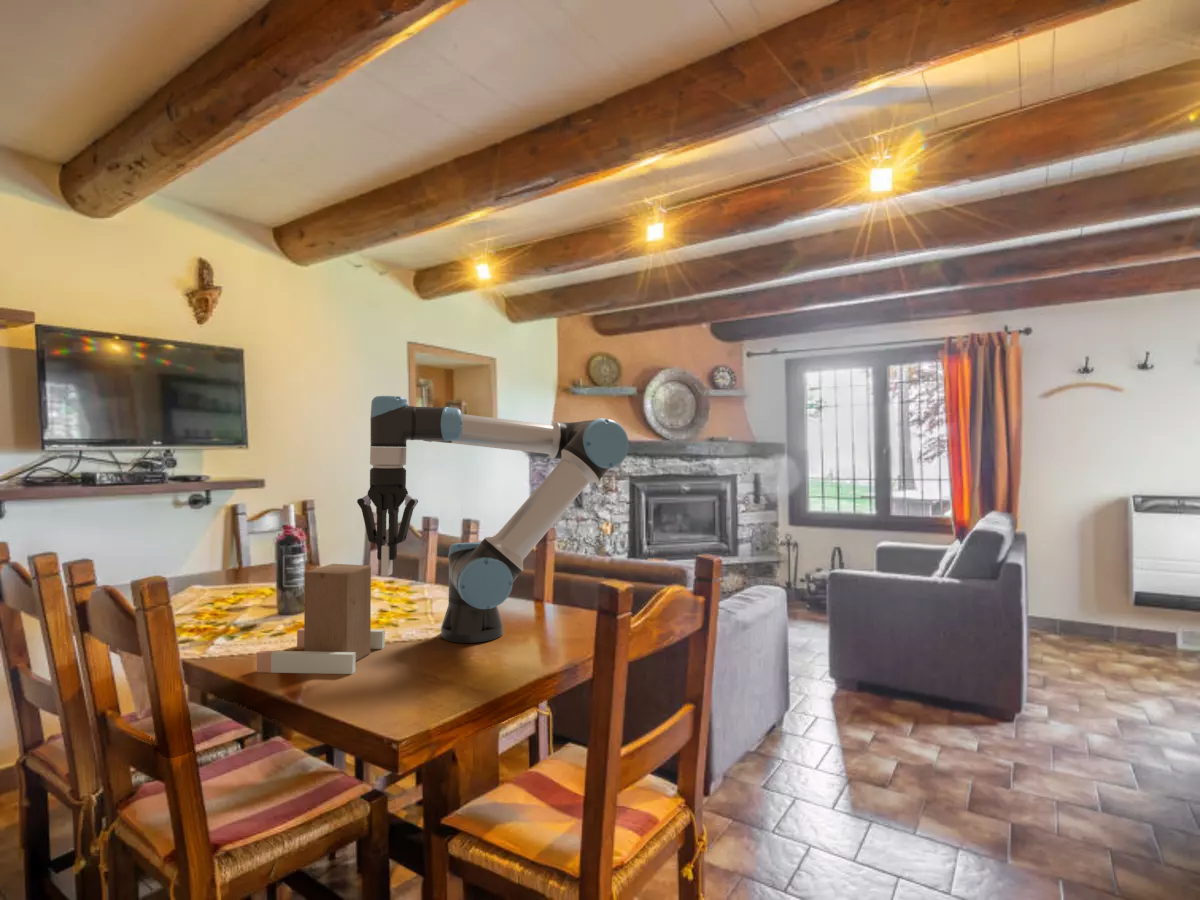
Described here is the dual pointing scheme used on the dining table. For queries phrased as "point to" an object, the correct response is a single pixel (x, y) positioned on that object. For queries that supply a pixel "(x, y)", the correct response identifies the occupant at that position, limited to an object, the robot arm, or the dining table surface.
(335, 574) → the wooden block
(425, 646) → the dining table surface
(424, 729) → the dining table surface
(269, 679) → the dining table surface
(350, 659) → the white bars
